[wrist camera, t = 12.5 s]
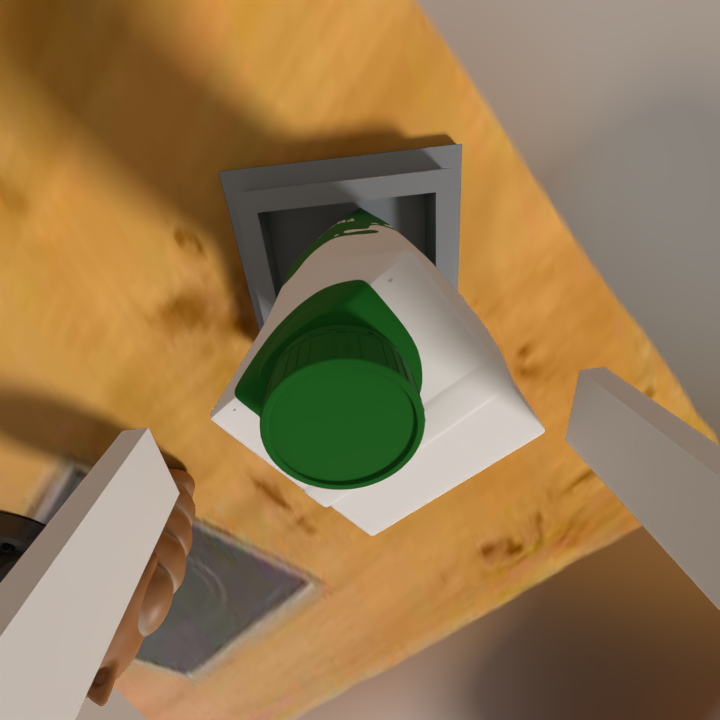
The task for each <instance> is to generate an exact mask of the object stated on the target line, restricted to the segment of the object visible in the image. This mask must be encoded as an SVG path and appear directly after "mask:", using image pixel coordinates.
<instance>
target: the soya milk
mask: <svg viewBox="0 0 720 720" xmlns="http://www.w3.org/2000/svg"><path fill="white" fill-rule="evenodd" d="M211 420H212V421H213V422H215V423H216V424H217V425H219V426H220V427H221V428H222V429H224V430H225V431H226V432H228V433H229V434H230V435H232V436H233V437H234V438H236V439H237V440H238V441H240V442H241V443H242V444H244V445H245V446H246V447H248V448H249V449H250V450H251V451H253V452H254V453H255V454H257V455H258V456H259V457H261V458H262V459H263V460H265V461H266V462H267V463H269V464H270V465H271V466H273V467H274V468H275V469H277V470H278V471H279V472H281V473H282V474H283V475H285V476H286V477H287V478H289V479H290V480H291V481H293V482H294V483H295V484H297V485H298V486H299V487H301V488H302V489H303V491H304V492H305V493H306V494H307V495H309V496H310V497H311V498H312V499H314V500H315V501H317V502H318V503H319V504H321V505H322V506H324V507H328V506H331V507H333V508H334V509H335V510H337V511H338V512H339V513H341V514H342V515H343V516H345V517H346V518H347V519H349V520H350V521H351V522H353V523H354V524H356V525H357V526H358V527H360V528H361V529H362V530H364V531H365V532H366V533H368V534H369V535H371V536H374V535H376V534H377V533H379V532H381V531H382V530H384V529H386V528H387V527H389V526H391V525H392V524H394V523H396V522H397V521H399V520H401V519H402V518H404V517H405V516H407V515H409V514H410V513H412V512H414V511H415V510H417V509H419V508H420V507H422V506H424V505H425V504H427V503H429V502H430V501H432V500H434V499H435V498H437V497H439V496H440V495H442V494H444V493H445V492H447V491H449V490H450V489H452V488H453V487H455V486H457V485H458V484H460V483H462V482H463V481H465V480H467V479H468V478H470V477H472V476H473V475H475V474H477V473H478V472H480V471H482V470H483V469H485V468H487V467H488V466H490V465H492V464H493V463H495V462H497V461H498V460H500V459H501V458H503V457H505V456H506V455H508V454H510V453H511V452H513V451H515V450H516V449H518V448H520V447H521V446H523V445H525V444H526V443H528V442H530V441H531V440H533V439H535V438H536V437H538V436H539V435H541V434H543V433H544V432H545V430H544V428H543V426H542V425H541V423H540V421H539V420H538V418H537V417H536V415H535V413H534V412H533V410H532V409H531V407H530V406H529V404H528V402H527V401H526V399H525V398H524V396H523V395H522V393H521V392H520V390H519V388H518V387H517V385H516V384H515V382H514V381H513V379H512V378H511V375H510V372H509V369H508V367H507V364H506V362H505V359H504V357H503V355H502V353H501V351H500V349H499V348H498V346H497V344H496V342H495V341H494V339H493V337H492V336H491V334H490V333H489V331H488V330H487V329H486V327H485V326H484V324H483V323H482V322H481V320H480V319H479V318H478V316H477V315H476V314H475V313H474V311H473V310H472V309H471V308H470V306H469V305H468V304H467V302H466V301H465V300H464V298H463V297H462V296H461V295H460V294H459V292H458V291H457V290H456V289H455V288H454V287H453V286H452V285H451V284H450V282H449V281H447V280H446V279H445V278H444V277H443V275H442V274H441V273H440V272H439V271H438V269H437V268H436V267H435V266H434V264H433V263H432V262H431V261H430V260H429V259H428V258H427V257H426V256H425V255H424V254H423V253H421V252H420V251H419V250H418V249H417V248H416V247H415V246H414V245H413V244H411V243H410V242H409V241H408V240H407V239H406V238H405V237H404V236H403V235H402V234H400V233H399V232H398V231H397V230H395V229H394V228H393V227H392V226H390V225H389V224H388V223H386V222H385V221H383V220H381V219H380V218H378V217H376V216H374V215H372V214H371V213H369V212H367V211H365V210H364V209H362V208H359V209H357V210H356V211H354V212H353V213H351V214H350V215H348V216H347V217H345V218H344V219H342V220H341V221H339V222H338V223H336V224H335V225H334V226H332V227H331V228H330V229H328V230H327V231H326V232H325V233H324V234H323V235H322V236H321V237H319V238H318V239H317V240H316V241H315V242H314V243H313V244H312V245H311V246H310V247H309V248H308V249H306V250H305V251H304V252H303V253H302V254H301V255H300V256H299V257H298V258H297V259H296V260H295V261H294V263H293V264H292V266H291V268H290V270H289V273H288V275H287V277H286V279H285V281H284V284H283V286H282V288H281V290H280V292H279V295H278V297H277V299H276V301H275V303H274V306H273V308H272V310H271V312H270V314H269V316H268V318H267V320H266V322H265V324H264V326H263V327H262V329H261V331H260V332H259V334H258V336H257V338H256V339H255V341H254V343H253V344H252V346H251V348H250V349H249V351H248V353H247V354H246V356H245V358H244V359H243V361H242V363H241V364H240V366H239V368H238V369H237V371H236V373H235V374H234V376H233V377H232V379H231V381H230V382H229V384H228V386H227V387H226V389H225V391H224V392H223V394H222V396H221V397H220V399H219V401H218V402H217V404H216V405H215V407H214V409H213V410H212V412H211Z"/></svg>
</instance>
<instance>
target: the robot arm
mask: <svg viewBox="0 0 720 720" xmlns="http://www.w3.org/2000/svg"><path fill="white" fill-rule="evenodd" d="M565 440H566V442H567V443H568V444H569V445H570V446H571V447H572V448H573V449H574V450H575V452H576V453H577V454H578V455H579V456H580V457H581V458H582V459H583V460H584V461H585V463H586V464H587V465H588V466H589V467H590V468H591V469H592V470H593V471H594V472H595V474H596V475H597V476H598V477H599V478H600V479H601V480H602V481H603V482H604V484H605V485H606V486H607V487H608V488H609V489H610V490H611V491H612V492H613V493H614V495H615V496H616V497H617V498H618V499H619V500H620V501H621V502H622V503H623V504H624V506H625V507H626V508H627V509H628V510H629V511H630V512H631V513H632V514H633V515H634V517H635V518H636V519H637V520H638V521H639V522H640V523H641V524H642V525H643V527H644V528H645V529H646V530H647V531H648V532H649V533H650V534H651V535H652V536H653V538H655V540H656V541H657V542H658V543H659V544H660V545H661V546H662V547H663V549H664V550H665V551H666V552H667V553H668V554H669V555H670V556H671V557H672V558H673V559H674V560H675V562H676V563H677V564H678V565H679V566H680V567H681V568H682V570H683V571H685V573H686V574H687V575H688V576H689V577H690V578H691V579H692V581H693V582H694V583H695V584H696V585H697V586H698V587H699V588H700V589H701V590H702V592H703V593H704V594H705V595H706V596H707V597H708V598H709V599H710V600H711V602H712V603H713V604H714V605H715V606H716V607H717V608H718V609H719V610H720V446H719V445H717V444H716V443H715V442H713V441H712V440H710V439H709V438H707V437H706V436H704V435H703V434H701V433H700V432H699V431H697V430H696V429H694V428H693V427H691V426H690V425H688V424H687V423H685V422H684V421H682V420H681V419H680V418H678V417H677V416H675V415H674V414H672V413H671V412H669V411H668V410H666V409H665V408H663V407H662V406H661V405H659V404H658V403H656V402H655V401H653V400H652V399H650V398H649V397H647V396H646V395H644V394H643V393H642V392H640V391H639V390H637V389H636V388H634V387H633V386H631V385H630V384H628V383H627V382H625V381H624V380H623V379H621V378H620V377H618V376H617V375H615V374H614V373H612V372H611V371H609V370H608V369H607V368H605V367H600V368H592V369H585V370H580V372H579V377H578V381H577V386H576V391H575V395H574V400H573V405H572V409H571V414H570V419H569V424H568V428H567V433H566V438H565ZM179 494H180V493H179V491H178V489H177V487H176V485H175V483H174V480H173V478H172V476H171V474H170V472H169V470H168V468H167V466H166V464H165V461H164V459H163V457H162V455H161V453H160V451H159V449H158V447H157V445H156V443H155V440H154V438H153V436H152V434H151V432H150V430H149V428H141V429H133V430H126V431H122V432H121V433H120V434H119V436H118V437H117V438H116V439H115V441H114V442H113V443H112V444H111V446H110V447H109V448H108V449H107V451H106V452H105V453H104V454H103V456H102V457H101V458H100V459H99V461H98V462H97V463H96V464H95V466H94V467H93V468H92V469H91V471H90V472H89V473H88V474H87V476H86V477H85V478H84V479H83V481H82V482H81V483H80V484H79V486H78V487H77V488H76V489H75V491H74V492H73V493H72V494H71V496H70V497H69V498H68V499H67V501H66V502H65V503H64V504H63V506H62V507H61V508H60V509H59V511H58V512H57V513H56V514H55V516H54V517H53V518H52V519H51V521H50V522H49V523H48V524H47V526H46V527H45V526H43V525H40V524H38V523H36V522H33V521H30V520H27V519H24V518H21V517H17V516H13V515H9V514H3V513H0V720H75V719H76V716H77V714H78V712H79V710H80V708H81V706H82V703H83V701H84V699H85V697H86V695H87V693H88V690H89V688H90V686H91V684H92V682H93V680H94V677H95V675H96V673H97V671H98V669H99V667H100V664H101V662H102V660H103V658H104V656H105V654H106V651H107V649H108V647H109V645H110V643H111V641H112V638H113V636H114V634H115V632H116V630H117V628H118V625H119V623H120V621H121V619H122V617H123V615H124V613H125V610H126V608H127V606H128V604H129V602H130V600H131V597H132V595H133V593H134V591H135V589H136V587H137V584H138V582H139V580H140V578H141V576H142V574H143V571H144V569H145V567H146V565H147V563H148V561H149V558H150V556H151V554H152V552H153V550H154V548H155V545H156V543H157V541H158V539H159V537H160V535H161V532H162V530H163V528H164V526H165V524H166V522H167V519H168V517H169V515H170V513H171V511H172V509H173V507H174V504H175V502H176V500H177V498H178V496H179Z"/></svg>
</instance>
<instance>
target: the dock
mask: <svg viewBox="0 0 720 720" xmlns="http://www.w3.org/2000/svg"><path fill="white" fill-rule="evenodd" d="M461 162H462V144H455V145H447V146H438V147H429V148H420V149H412V150H403V151H394V152H385V153H377V154H368V155H359V156H350V157H342V158H333V159H324V160H315V161H307V162H298V163H289V164H280V165H272V166H263V167H254V168H245V169H237V170H228V171H219V175H220V179H221V183H222V187H223V191H224V195H225V199H226V203H227V207H228V211H229V215H230V219H231V223H232V226H233V230H234V234H235V238H236V242H237V246H238V250H239V254H240V258H241V262H242V266H243V270H244V274H245V277H246V281H247V285H248V289H249V293H250V297H251V301H252V305H253V309H254V313H255V317H256V321H257V325H258V328H259V332H260V331H261V329H262V327H263V326H264V324H265V322H266V320H267V318H268V316H269V314H270V312H271V310H272V308H273V306H274V303H275V301H276V299H277V297H278V295H279V292H280V290H281V288H282V286H283V284H284V281H285V279H286V277H287V275H288V273H289V270H290V268H291V266H292V264H293V263H294V261H295V260H296V259H297V258H298V257H299V256H300V255H301V254H302V253H303V252H304V251H305V250H306V249H308V248H309V247H310V246H311V245H312V244H313V243H314V242H315V241H316V240H317V239H318V238H319V237H321V236H322V235H323V234H324V233H325V232H326V231H327V230H328V229H330V228H331V227H332V226H334V225H335V224H336V223H338V222H339V221H341V220H342V219H344V218H345V217H347V216H348V215H350V214H351V213H353V212H354V211H356V210H357V209H359V208H362V209H364V210H365V211H367V212H369V213H371V214H372V215H374V216H376V217H378V218H380V219H381V220H383V221H385V222H386V223H388V224H389V225H390V226H392V227H393V228H394V229H395V230H397V231H398V232H399V233H400V234H402V235H403V236H404V237H405V238H406V239H407V240H408V241H409V242H410V243H411V244H413V245H414V246H415V247H416V248H417V249H418V250H419V251H420V252H421V253H423V254H424V255H425V256H426V257H427V258H428V259H429V260H430V261H431V262H432V263H433V264H434V266H435V267H436V268H437V269H438V271H439V272H440V273H441V274H442V275H443V277H444V278H445V279H446V280H447V281H449V282H450V284H451V285H452V286H453V287H454V288H455V289H456V290H457V291H458V266H459V231H460V197H461Z"/></svg>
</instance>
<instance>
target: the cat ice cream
mask: <svg viewBox="0 0 720 720" xmlns="http://www.w3.org/2000/svg"><path fill="white" fill-rule="evenodd" d="M168 470H169V472H170V474H171V476H172V478H173V480H174V483H175V485H176V487H177V489H178V491H179V493H180V494H179V496H178V498H177V500H176V502H175V504H174V507H173V509H172V511H171V513H170V515H169V517H168V519H167V522H166V524H165V526H164V528H163V530H162V532H161V535H160V537H159V539H158V541H157V543H156V545H155V548H154V550H153V552H152V554H151V556H150V558H149V561H148V563H147V565H146V567H145V569H144V571H143V574H142V576H141V578H140V580H139V582H138V584H137V587H136V589H135V591H134V593H133V595H132V597H131V600H130V602H129V604H128V606H127V608H126V610H125V613H124V615H123V617H122V619H121V621H120V623H119V625H118V628H117V630H116V632H115V634H114V636H113V638H112V641H111V643H110V645H109V647H108V649H107V651H106V654H105V656H104V658H103V660H102V662H101V664H100V667H99V669H98V671H97V673H96V675H95V677H94V680H93V682H92V684H91V686H90V688H89V690H88V693H87V695H86V697H85V698H87V697H89V698H90V699H91V700H92V701H93V702H95V703H96V704H98V705H100V706H104V705H105V704H106V702H107V700H108V698H109V696H110V693H111V691H112V688H113V685H114V682H115V680H116V679H117V678H118V677H119V676H120V675H121V674H122V673H123V672H124V671H125V670H126V668H127V667H128V666H129V665H130V663H131V662H132V660H133V659H134V657H135V656H136V654H137V652H138V650H139V648H140V646H141V644H142V641H143V639H144V637H145V636H148V635H149V634H151V633H152V632H154V631H155V630H156V629H157V628H158V627H159V626H160V625H161V623H162V622H163V621H164V619H165V617H166V615H167V613H168V610H169V608H170V605H171V602H172V598H173V594H174V593H175V592H176V590H177V589H178V588H179V586H180V585H181V583H182V581H183V579H184V576H185V569H186V556H187V555H188V553H189V551H190V548H191V545H192V527H191V526H192V524H193V521H194V518H195V505H194V502H193V499H192V496H193V492H194V488H195V483H194V480H193V478H192V477H191V476H190V475H189V474H188V473H187V472H185V471H183V470H179V469H168Z"/></svg>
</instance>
